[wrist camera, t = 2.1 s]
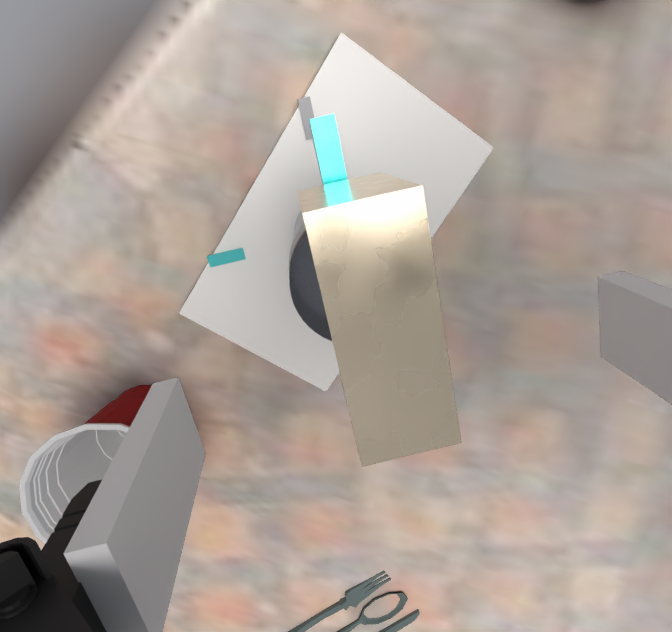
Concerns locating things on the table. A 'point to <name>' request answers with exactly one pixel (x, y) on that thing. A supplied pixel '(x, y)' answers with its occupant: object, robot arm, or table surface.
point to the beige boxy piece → (375, 303)
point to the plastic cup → (75, 461)
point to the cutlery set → (355, 598)
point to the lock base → (303, 172)
